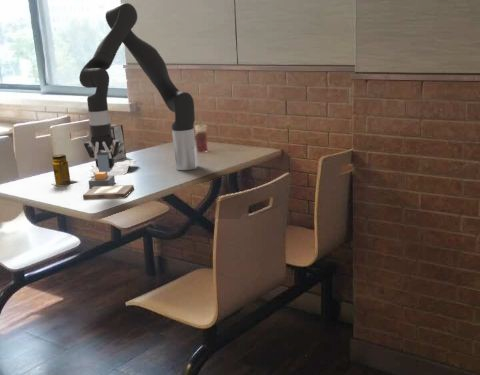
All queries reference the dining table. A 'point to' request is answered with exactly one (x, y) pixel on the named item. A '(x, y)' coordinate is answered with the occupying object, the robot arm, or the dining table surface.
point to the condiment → (61, 171)
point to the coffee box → (117, 135)
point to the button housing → (102, 181)
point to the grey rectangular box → (103, 162)
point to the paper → (117, 168)
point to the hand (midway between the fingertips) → (105, 167)
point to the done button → (101, 175)
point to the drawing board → (108, 191)
